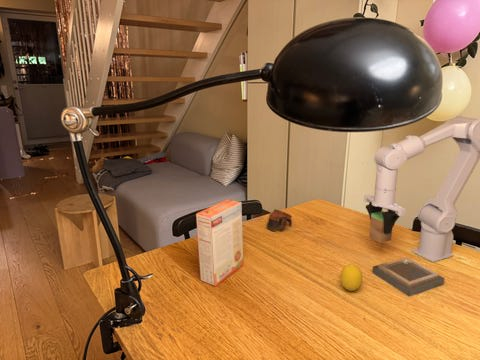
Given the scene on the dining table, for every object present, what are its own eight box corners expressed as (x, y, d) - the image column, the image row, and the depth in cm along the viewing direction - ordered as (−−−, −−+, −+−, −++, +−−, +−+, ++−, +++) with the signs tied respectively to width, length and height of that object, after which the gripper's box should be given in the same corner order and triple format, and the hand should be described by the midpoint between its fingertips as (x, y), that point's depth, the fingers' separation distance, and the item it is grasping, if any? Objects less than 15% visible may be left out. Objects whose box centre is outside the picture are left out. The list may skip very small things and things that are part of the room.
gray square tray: (404, 263, 106) (405, 254, 105) (443, 284, 95) (445, 275, 94) (372, 272, 101) (373, 264, 100) (409, 296, 90) (410, 287, 89)
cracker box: (228, 260, 109) (226, 198, 104) (244, 266, 106) (243, 201, 100) (198, 280, 98) (194, 212, 93) (215, 287, 95) (212, 216, 89)
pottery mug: (261, 226, 136) (268, 207, 137) (282, 234, 138) (289, 215, 139) (271, 230, 124) (279, 209, 125) (294, 239, 127) (302, 218, 127)
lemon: (362, 298, 89) (364, 270, 87) (340, 295, 90) (342, 268, 88) (359, 286, 95) (362, 259, 92) (338, 284, 96) (340, 258, 93)
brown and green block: (380, 234, 110) (382, 211, 108) (391, 240, 106) (393, 215, 104) (369, 237, 108) (371, 213, 106) (379, 242, 104) (382, 218, 102)
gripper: (357, 183, 107) (354, 223, 111) (394, 196, 95) (389, 241, 98) (375, 180, 110) (371, 220, 114) (413, 193, 97) (407, 237, 101)
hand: (381, 229), depth 106 cm, fingers closed on brown and green block, 4 cm apart
